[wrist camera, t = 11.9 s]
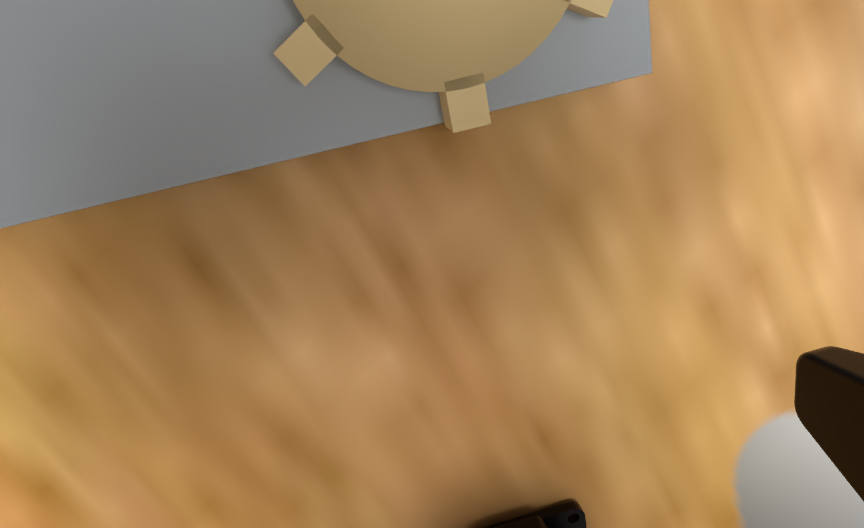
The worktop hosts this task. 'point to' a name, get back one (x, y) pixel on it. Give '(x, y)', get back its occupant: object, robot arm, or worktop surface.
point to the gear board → (270, 82)
